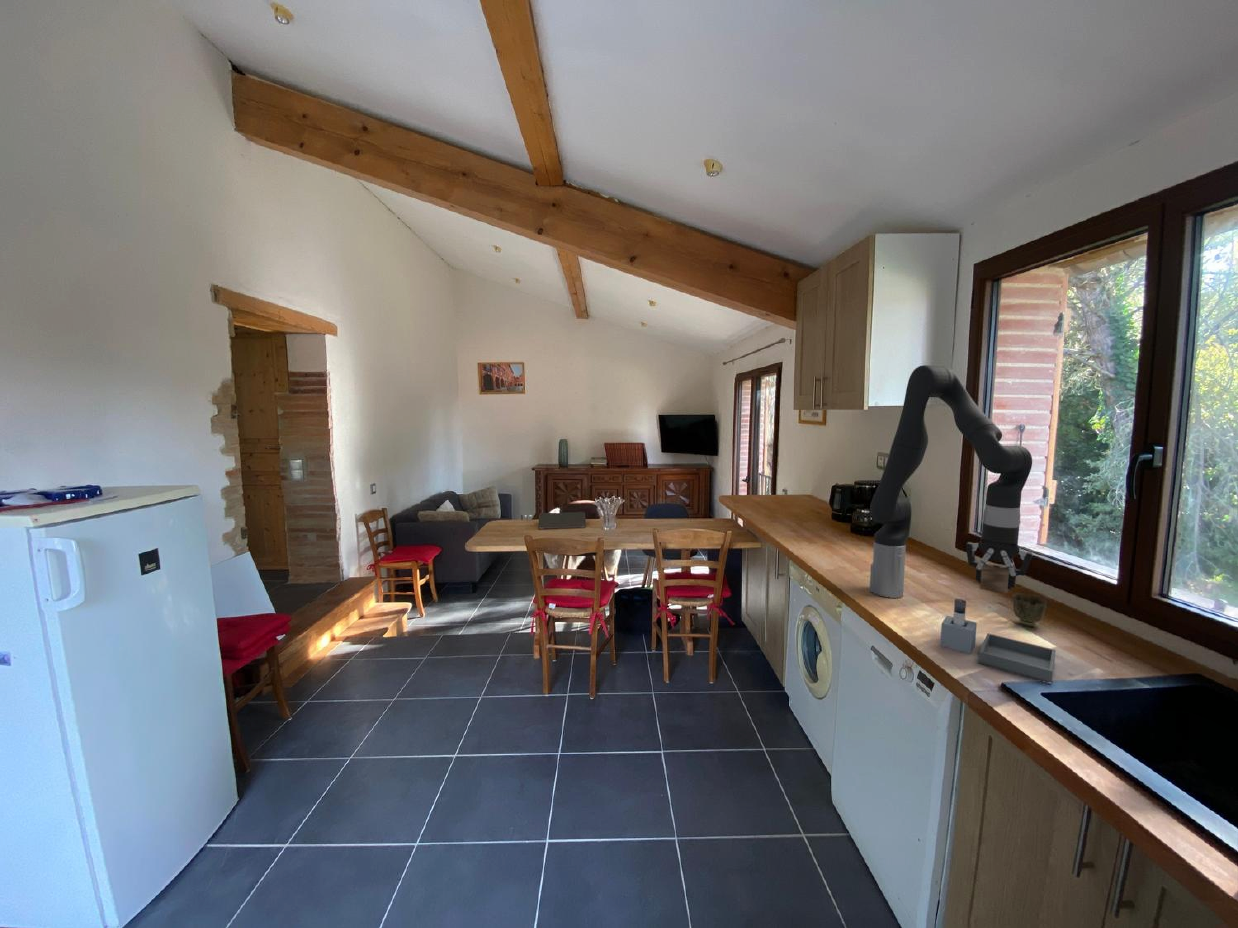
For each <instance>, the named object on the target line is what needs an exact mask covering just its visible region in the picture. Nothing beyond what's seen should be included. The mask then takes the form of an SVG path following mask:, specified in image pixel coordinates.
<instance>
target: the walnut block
mask: <svg viewBox="0 0 1238 928" xmlns="http://www.w3.org/2000/svg"><path fill="white" fill-rule="evenodd" d="M1009 575H1010V573H1009V570H1008V568H1007V567H1006V564H1000V563H995V562H989V561H987V562H986V564H985V565H983V566H982V570H981V581H980V583H979V589H980V590H983V591H990V592H992V593H993V592H994V593H997V594H998V593H999V594H1002V595H1007V594H1008V591H1010V590H1009V589H1008V580H1009Z"/></svg>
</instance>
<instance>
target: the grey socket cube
mask: <svg viewBox="0 0 1238 928" xmlns="http://www.w3.org/2000/svg"><path fill="white" fill-rule="evenodd" d="M953 619H954V616H949V615H946V616H945V618H944V619H943V621H942V622H941V625H940V626H941V629H940V643H939V645H940V646H941V647H944V648H949V649H950V650H951V649H952V650H954V651H955V650H956V651H959V652H962V653H966V654H970V655H971V654H972V652H973V650H974V648H975V646H976V637H977V624H978V623H977V622H976V621H971V620H969V619H968V620H966V619H965V626H964V627H963V626H959V625H955V624H953Z"/></svg>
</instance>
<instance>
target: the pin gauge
mask: <svg viewBox="0 0 1238 928" xmlns="http://www.w3.org/2000/svg"><path fill="white" fill-rule="evenodd" d="M966 609H967V600H965V599H962V598H955V599H954V607H953V617H954V619H953V624H955V625H959V626H963V627H964V626H965V620H966V611H967V610H966Z"/></svg>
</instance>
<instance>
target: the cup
mask: <svg viewBox="0 0 1238 928" xmlns="http://www.w3.org/2000/svg"><path fill="white" fill-rule="evenodd" d="M1047 604H1048V601H1047V600H1046V599H1043V598H1042V597H1041V598H1040V597H1039V596H1038V595H1032V594H1028V596H1025V595H1023V593H1018V592H1017V593H1016V594H1015V593H1013V594H1012V608H1013V613H1014V615H1015V616H1016V617H1017V618H1018V621H1019V623H1020V625H1022V626H1024V627H1027V628H1035V627H1036V626H1037V623H1038V622H1040V621H1041V620H1042V619H1043V618H1044V616H1045V612H1046V608H1047Z"/></svg>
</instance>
